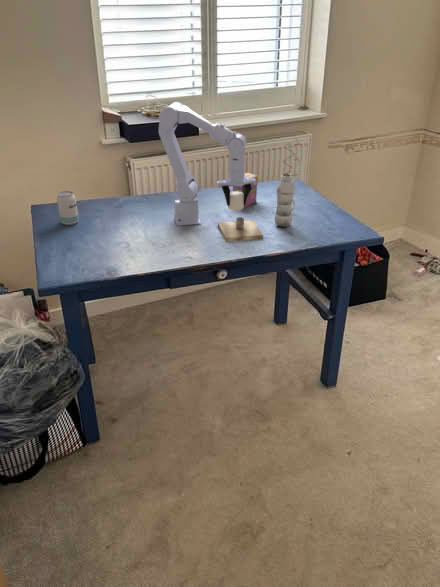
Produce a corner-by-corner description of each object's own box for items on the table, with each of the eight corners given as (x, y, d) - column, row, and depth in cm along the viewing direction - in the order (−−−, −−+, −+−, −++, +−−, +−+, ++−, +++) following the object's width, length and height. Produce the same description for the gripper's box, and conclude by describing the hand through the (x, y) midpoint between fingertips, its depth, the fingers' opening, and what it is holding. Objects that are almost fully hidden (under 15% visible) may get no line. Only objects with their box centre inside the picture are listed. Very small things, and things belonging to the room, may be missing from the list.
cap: (230, 210, 189) (230, 196, 186) (227, 205, 194) (227, 191, 191) (244, 209, 190) (245, 195, 187) (240, 204, 195) (241, 190, 192)
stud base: (225, 241, 184) (225, 227, 181) (217, 226, 196) (217, 212, 193) (262, 238, 186) (263, 224, 184) (252, 223, 198) (253, 210, 195)
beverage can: (72, 227, 193) (68, 197, 187) (57, 225, 195) (52, 195, 189) (82, 220, 199) (78, 191, 193) (67, 218, 201) (62, 189, 194)
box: (242, 208, 211) (243, 181, 205) (231, 205, 214) (232, 178, 208) (256, 201, 218) (258, 175, 212) (245, 198, 221) (246, 172, 215)
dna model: (294, 215, 205) (301, 140, 190) (278, 214, 206) (284, 139, 191) (294, 209, 211) (301, 136, 195) (279, 208, 212) (285, 135, 196)
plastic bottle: (290, 229, 193) (295, 178, 183) (273, 227, 195) (276, 177, 184) (292, 222, 199) (296, 173, 188) (275, 221, 200) (278, 172, 190)
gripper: (219, 173, 179) (219, 209, 186) (258, 171, 182) (257, 206, 189) (215, 167, 185) (215, 202, 192) (253, 165, 188) (252, 199, 195)
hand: (235, 204), depth 191 cm, fingers closed on cap, 5 cm apart
